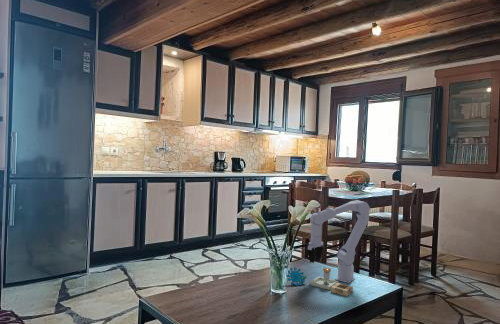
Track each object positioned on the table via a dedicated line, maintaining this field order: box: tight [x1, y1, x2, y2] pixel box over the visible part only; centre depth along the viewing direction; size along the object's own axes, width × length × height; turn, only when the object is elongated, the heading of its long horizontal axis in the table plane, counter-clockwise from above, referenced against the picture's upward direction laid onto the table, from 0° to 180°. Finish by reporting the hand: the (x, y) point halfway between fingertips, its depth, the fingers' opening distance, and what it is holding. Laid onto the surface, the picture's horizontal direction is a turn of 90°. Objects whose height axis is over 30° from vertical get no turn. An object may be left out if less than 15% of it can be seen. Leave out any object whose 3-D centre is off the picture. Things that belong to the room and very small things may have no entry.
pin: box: [322, 267, 332, 285], centre depth 181 cm, size 4×4×8 cm
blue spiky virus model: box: [286, 266, 308, 287], centre depth 184 cm, size 11×6×10 cm
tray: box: [309, 275, 339, 291], centre depth 182 cm, size 11×11×2 cm
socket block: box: [330, 282, 354, 297], centre depth 173 cm, size 8×8×2 cm
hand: (315, 260), depth 189 cm, fingers open, 7 cm apart
